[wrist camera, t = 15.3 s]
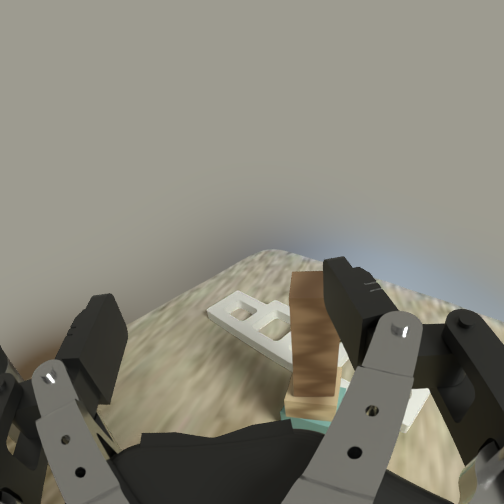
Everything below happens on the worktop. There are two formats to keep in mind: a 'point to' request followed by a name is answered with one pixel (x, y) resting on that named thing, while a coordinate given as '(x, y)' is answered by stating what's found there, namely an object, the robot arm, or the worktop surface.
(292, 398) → the tower mid
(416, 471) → the worktop surface
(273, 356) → the holder
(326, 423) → the tower base
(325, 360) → the walnut column
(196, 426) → the worktop surface
